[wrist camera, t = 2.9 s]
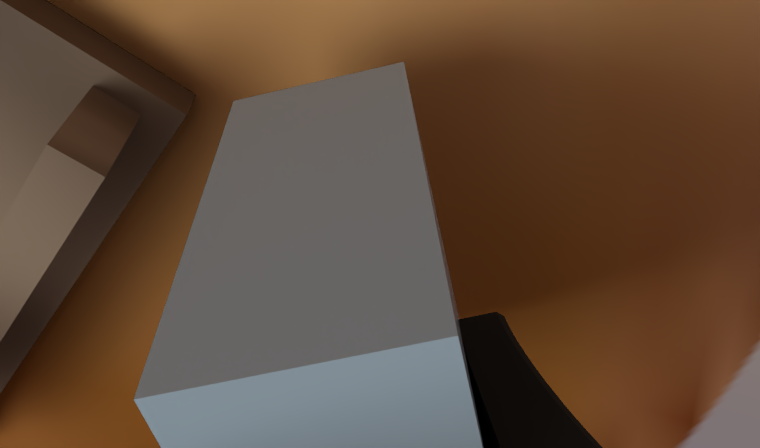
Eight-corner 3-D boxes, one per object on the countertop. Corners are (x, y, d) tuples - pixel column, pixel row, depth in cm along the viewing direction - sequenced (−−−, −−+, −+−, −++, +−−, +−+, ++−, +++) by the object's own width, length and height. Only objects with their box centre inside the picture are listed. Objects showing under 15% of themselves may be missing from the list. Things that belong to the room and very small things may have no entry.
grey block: (475, 393, 17) (547, 743, 11) (346, 417, 17) (347, 773, 11) (404, 61, 12) (458, 335, 6) (233, 100, 13) (133, 400, 7)
